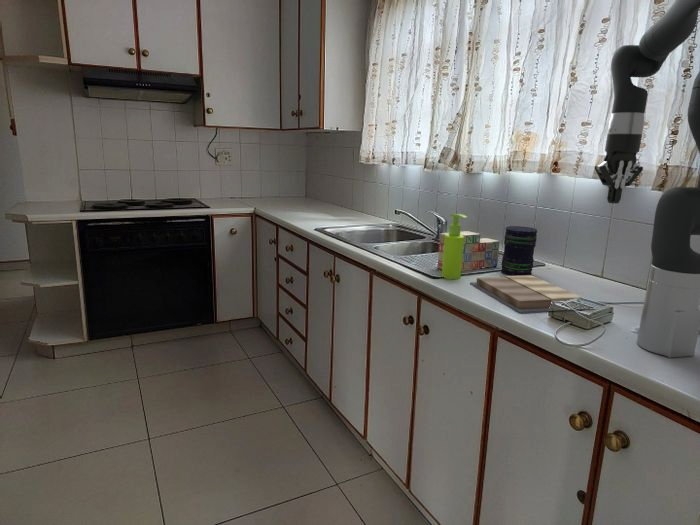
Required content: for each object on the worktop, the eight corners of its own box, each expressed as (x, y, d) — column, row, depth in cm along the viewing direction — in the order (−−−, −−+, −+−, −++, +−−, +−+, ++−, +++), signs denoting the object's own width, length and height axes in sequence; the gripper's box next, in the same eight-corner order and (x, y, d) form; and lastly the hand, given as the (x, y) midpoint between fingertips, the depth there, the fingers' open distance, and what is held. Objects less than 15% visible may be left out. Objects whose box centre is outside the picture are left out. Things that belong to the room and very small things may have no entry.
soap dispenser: (453, 281, 144) (459, 216, 139) (437, 275, 149) (442, 213, 145) (466, 278, 147) (472, 215, 142) (450, 273, 152) (456, 212, 148)
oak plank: (580, 304, 123) (582, 297, 122) (551, 306, 121) (552, 298, 120) (530, 281, 143) (531, 275, 143) (504, 282, 141) (505, 276, 141)
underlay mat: (594, 309, 122) (595, 307, 121) (519, 313, 116) (519, 311, 116) (534, 281, 146) (534, 279, 146) (469, 284, 141) (470, 282, 141)
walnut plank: (549, 306, 121) (550, 299, 120) (518, 308, 118) (519, 301, 118) (503, 283, 141) (504, 276, 141) (476, 284, 139) (477, 277, 139)
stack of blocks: (484, 263, 169) (488, 229, 166) (497, 267, 163) (501, 232, 161) (436, 268, 159) (439, 232, 156) (448, 272, 154) (451, 235, 151)
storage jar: (517, 268, 162) (522, 225, 158) (538, 275, 153) (544, 230, 150) (494, 270, 158) (498, 226, 155) (514, 278, 149) (520, 231, 146)
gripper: (613, 131, 111) (602, 204, 115) (659, 133, 114) (646, 205, 118) (590, 132, 118) (580, 201, 122) (634, 134, 121) (623, 201, 125)
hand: (613, 203), depth 120 cm, fingers closed
